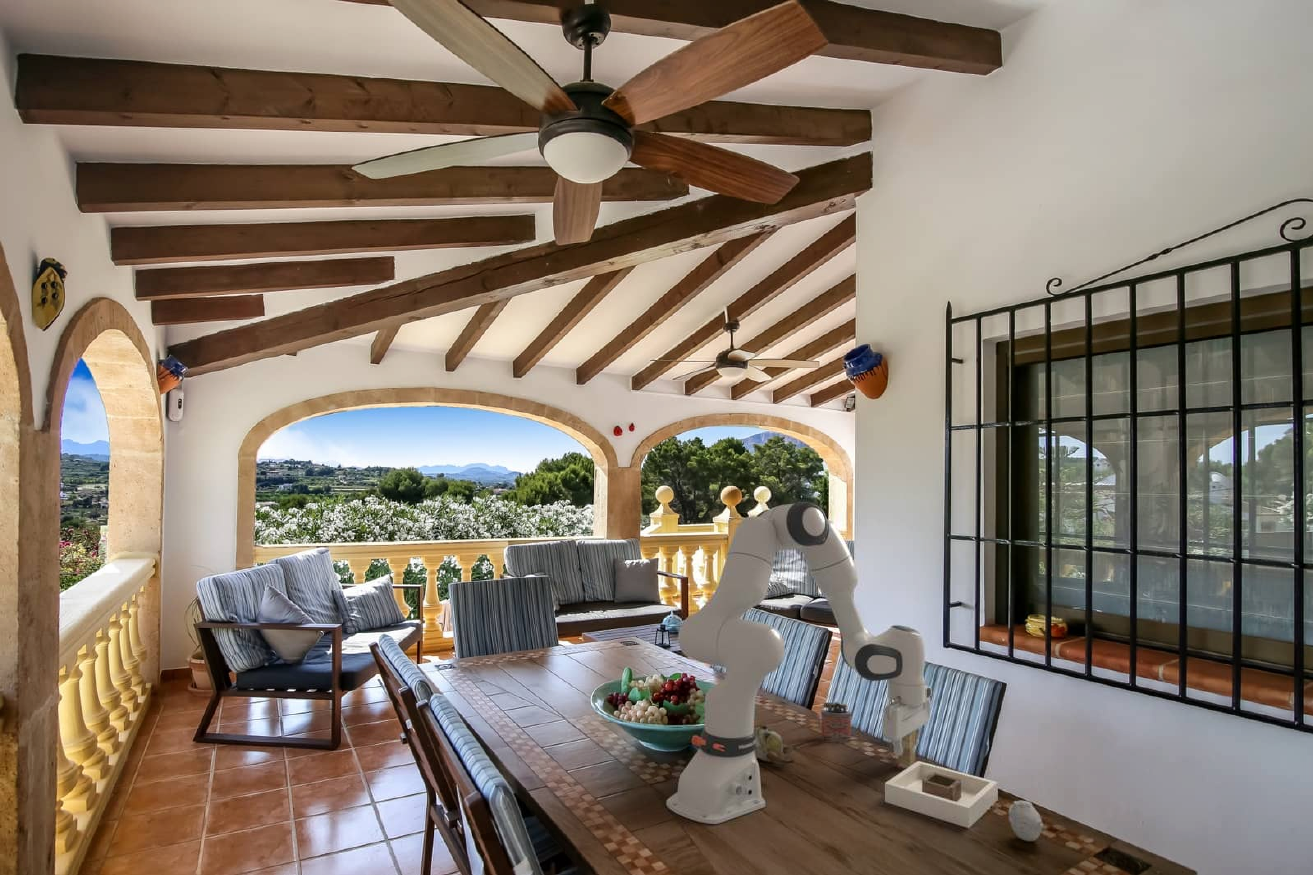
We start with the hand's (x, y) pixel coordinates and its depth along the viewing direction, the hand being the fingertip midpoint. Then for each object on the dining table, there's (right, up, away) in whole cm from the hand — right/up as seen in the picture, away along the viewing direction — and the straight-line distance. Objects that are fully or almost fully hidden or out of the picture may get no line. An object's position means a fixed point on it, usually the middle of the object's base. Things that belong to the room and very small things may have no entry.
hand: (906, 749), depth 185 cm
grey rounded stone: (+11, -3, -37) cm, 39 cm away
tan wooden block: (0, -4, 0) cm, 4 cm away
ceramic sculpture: (-34, -4, +3) cm, 35 cm away
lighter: (-13, -5, +18) cm, 23 cm away
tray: (+1, -3, -20) cm, 20 cm away
